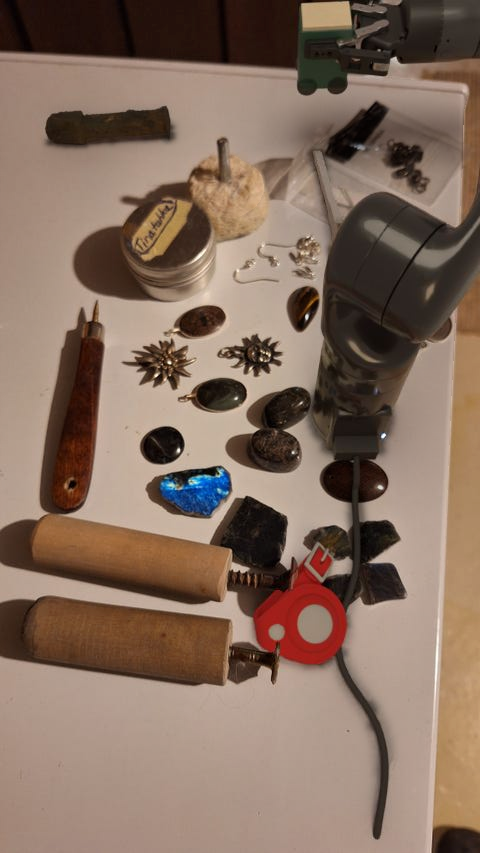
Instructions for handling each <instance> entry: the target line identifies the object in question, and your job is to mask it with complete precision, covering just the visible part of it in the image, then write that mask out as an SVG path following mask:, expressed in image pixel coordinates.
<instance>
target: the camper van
mask: <svg viewBox="0 0 480 853" xmlns="http://www.w3.org/2000/svg"><path fill="white" fill-rule="evenodd" d="M350 6H351V4H350V3H349V1H343V2H337V1H325V2H324V1H322V2H321V1H320V2H303V3H301V4H300V5H299V8H298V9H299V10H298V28H297V29H298V31H297V54H296V59H295V70H296V72H297V73H296V74H297V80H296V89H297V92H298V93H299V94H300V95H301V96H304V97H306V96H307V97H308V96H312V95H314V94H315V93H316V92H317V90H320V89H321V90H322V89H323V90H324V89H326V90H327V92H329V94H331V95H336V96H338V95H341V94H343V93H345V91H347V88H348V86H349V83H348V74H349V73H347V72H342V71H341V70H340V68H341V65H340V64H339V63H337V62H336V61H335V59H323V60H322V59H321V60H319V59H318V60H312V59H306V58H305V53H304V51H305V41H306V40H308V39H324V38H335V42H336V41H337V39H339V38H343V37H351V36H352V35H353V25H352V16H351V8H350ZM348 48H352V45H351V46H348Z"/></svg>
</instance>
